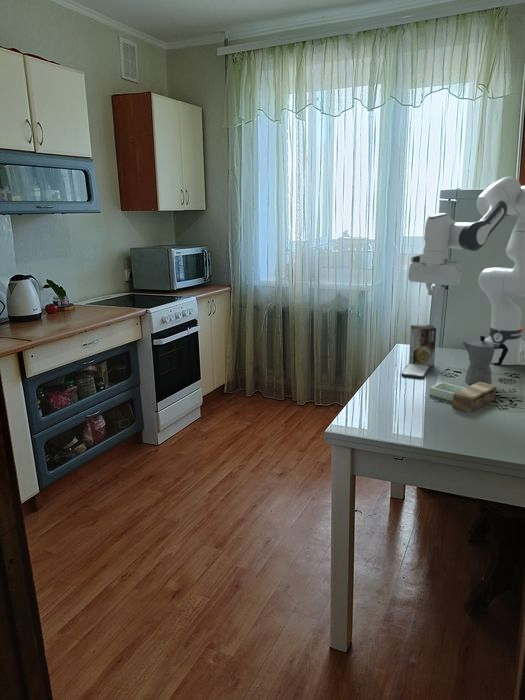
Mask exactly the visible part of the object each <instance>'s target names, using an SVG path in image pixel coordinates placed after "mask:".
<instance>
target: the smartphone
mask: <svg viewBox="0 0 525 700" xmlns="http://www.w3.org/2000/svg"><path fill="white" fill-rule="evenodd" d="M430 367H431V366H425V365H416V364H410V363H408V364H407V366H405V368H404V370H403V371H402V372H401V377H402V376H403V378H407V377H408V379H417V380H424V379H425V378H426V376H427V374H428V372H429V371H430Z"/></svg>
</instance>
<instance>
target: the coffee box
mask: <svg viewBox="0 0 525 700" xmlns="http://www.w3.org/2000/svg"><path fill="white" fill-rule="evenodd" d="M436 337H437V328H436V327H435V326H434V325H433V324H420V325H419V324H414V325H410V337H409V354H408V356H409V357H408V362H409V364H416V365H425V366H429V367H433V366H435V357H436V341H437V340H436V339H437V338H436Z"/></svg>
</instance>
